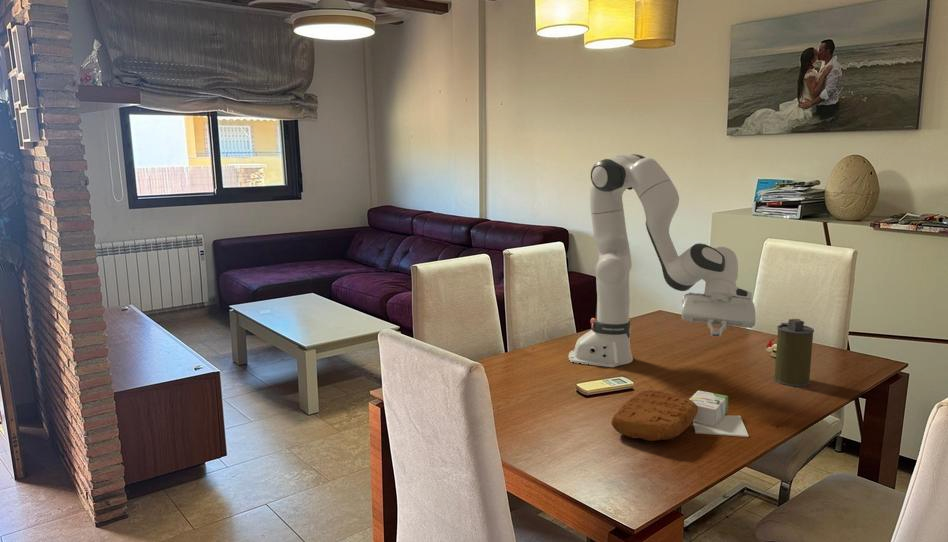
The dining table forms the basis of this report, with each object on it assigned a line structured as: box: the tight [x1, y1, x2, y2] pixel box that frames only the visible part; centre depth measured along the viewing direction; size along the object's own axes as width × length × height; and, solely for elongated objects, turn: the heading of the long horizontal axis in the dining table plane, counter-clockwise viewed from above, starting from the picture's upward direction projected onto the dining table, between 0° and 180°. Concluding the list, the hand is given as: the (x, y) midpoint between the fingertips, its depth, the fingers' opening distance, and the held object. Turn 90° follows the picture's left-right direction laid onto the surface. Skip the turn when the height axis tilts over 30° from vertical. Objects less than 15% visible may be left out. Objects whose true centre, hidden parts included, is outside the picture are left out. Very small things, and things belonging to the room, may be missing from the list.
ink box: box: [688, 390, 729, 426], centre depth 178 cm, size 8×5×12 cm
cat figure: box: [765, 337, 777, 358], centre depth 234 cm, size 10×9×25 cm
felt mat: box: [692, 414, 750, 438], centre depth 173 cm, size 13×13×1 cm
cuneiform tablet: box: [611, 389, 698, 442], centre depth 169 cm, size 22×17×8 cm
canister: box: [773, 318, 815, 387], centre depth 203 cm, size 11×10×20 cm
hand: (715, 335), depth 185 cm, fingers closed
